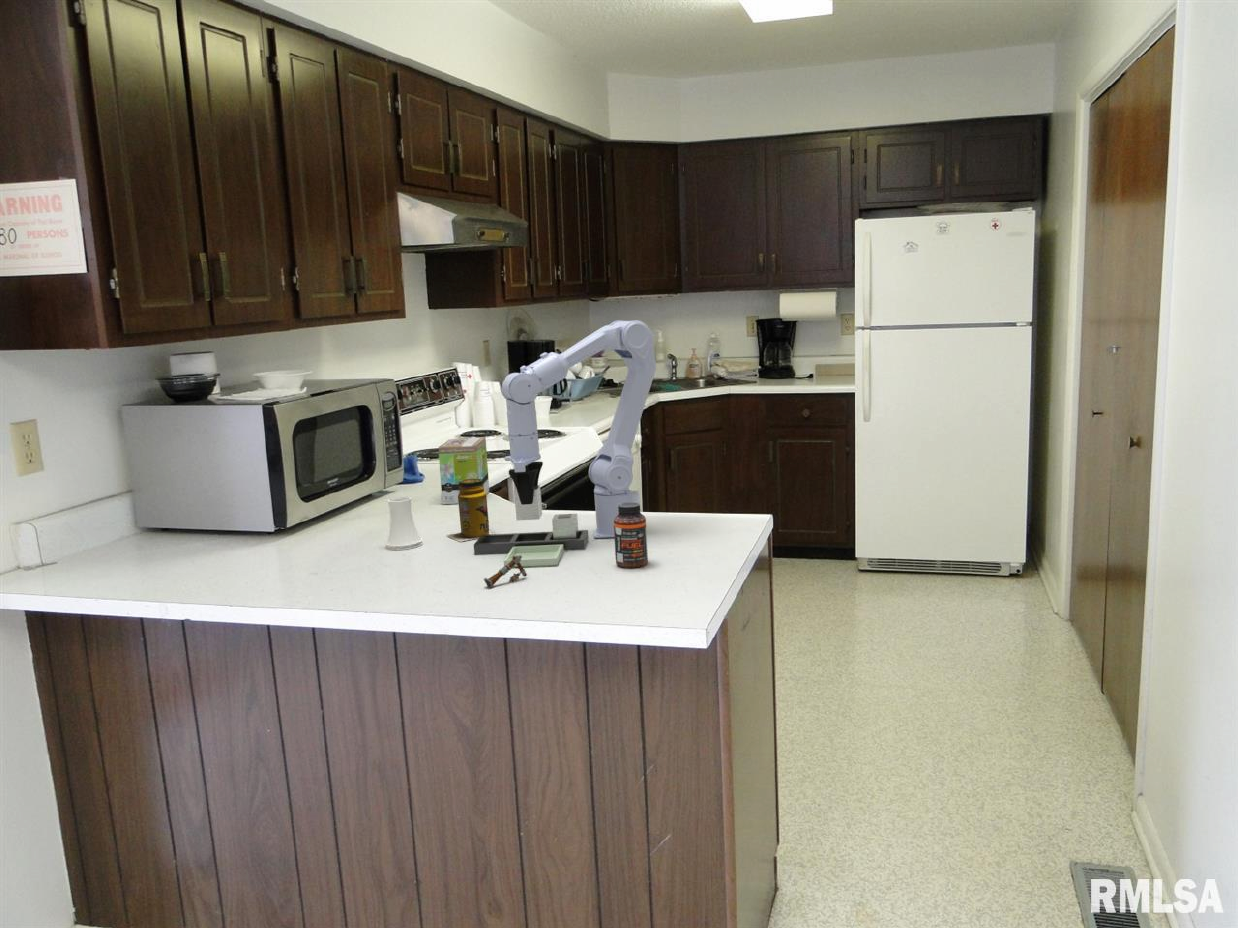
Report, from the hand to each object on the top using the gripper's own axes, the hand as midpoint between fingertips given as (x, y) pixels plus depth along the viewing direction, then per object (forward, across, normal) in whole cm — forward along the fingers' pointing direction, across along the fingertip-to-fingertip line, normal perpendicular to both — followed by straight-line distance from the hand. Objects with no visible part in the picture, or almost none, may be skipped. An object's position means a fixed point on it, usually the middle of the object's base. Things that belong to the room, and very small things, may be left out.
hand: (528, 501), depth 197 cm
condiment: (+10, -12, -15) cm, 22 cm away
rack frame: (+9, 0, 0) cm, 9 cm away
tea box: (+10, -53, -25) cm, 59 cm away
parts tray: (+9, +10, +2) cm, 14 cm away
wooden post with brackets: (+10, +24, -1) cm, 26 cm away
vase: (+10, -6, -28) cm, 30 cm away
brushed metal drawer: (+10, 0, +7) cm, 12 cm away
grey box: (+3, 0, 0) cm, 3 cm away
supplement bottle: (+10, +16, +21) cm, 28 cm away
